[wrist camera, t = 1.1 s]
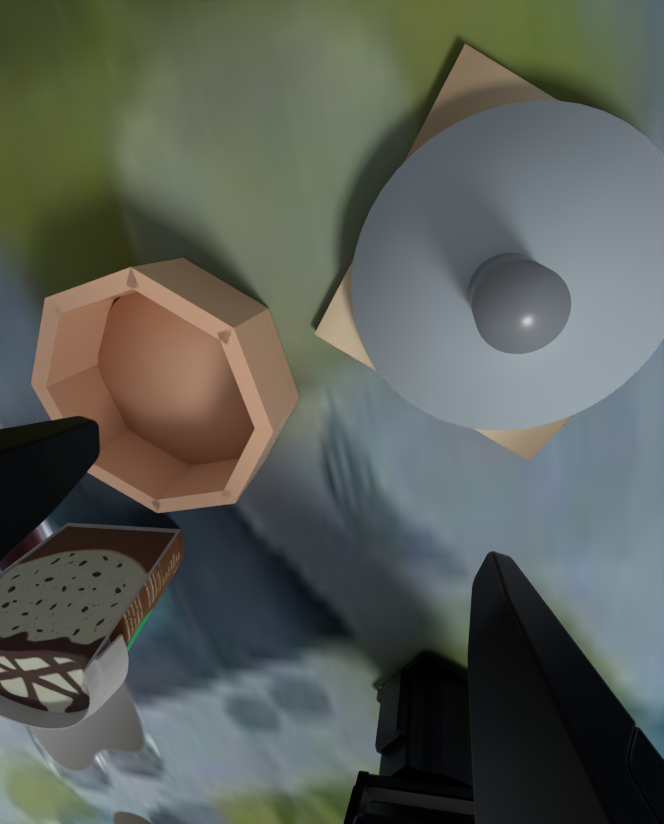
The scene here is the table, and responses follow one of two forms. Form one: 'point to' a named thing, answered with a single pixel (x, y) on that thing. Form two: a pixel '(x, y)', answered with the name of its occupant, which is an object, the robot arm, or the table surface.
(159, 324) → the bowl
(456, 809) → the robot arm
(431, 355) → the lid
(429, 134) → the mat
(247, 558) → the table surface
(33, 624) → the food container
